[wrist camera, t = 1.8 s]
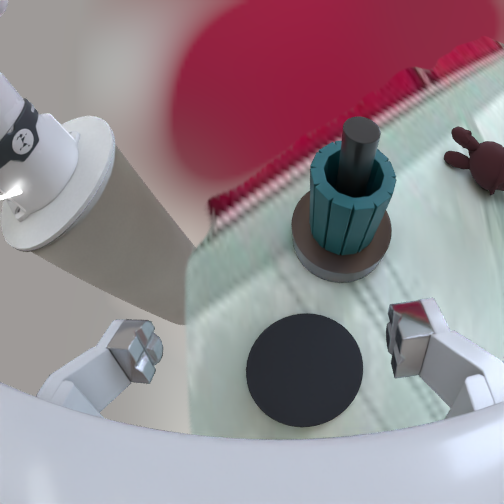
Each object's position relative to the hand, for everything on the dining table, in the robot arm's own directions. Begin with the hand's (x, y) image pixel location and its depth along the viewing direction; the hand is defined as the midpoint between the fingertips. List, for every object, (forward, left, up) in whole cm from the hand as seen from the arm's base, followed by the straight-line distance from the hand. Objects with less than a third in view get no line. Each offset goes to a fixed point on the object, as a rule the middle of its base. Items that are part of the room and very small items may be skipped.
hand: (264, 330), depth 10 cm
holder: (0, +13, -20) cm, 24 cm away
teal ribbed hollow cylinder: (0, +13, -17) cm, 21 cm away
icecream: (+17, +29, -20) cm, 39 cm away
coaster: (+2, -1, -20) cm, 20 cm away
